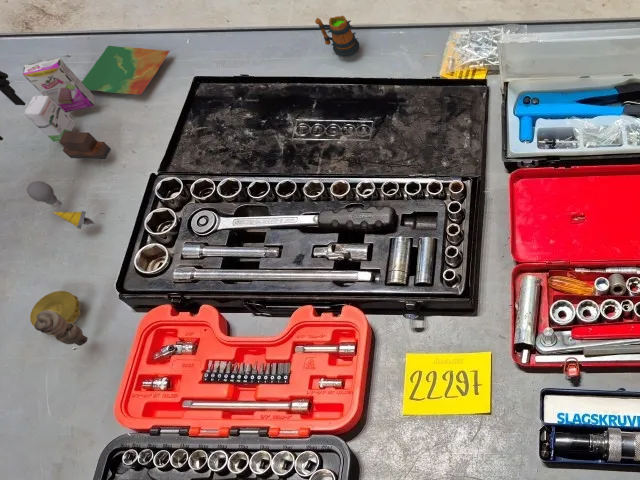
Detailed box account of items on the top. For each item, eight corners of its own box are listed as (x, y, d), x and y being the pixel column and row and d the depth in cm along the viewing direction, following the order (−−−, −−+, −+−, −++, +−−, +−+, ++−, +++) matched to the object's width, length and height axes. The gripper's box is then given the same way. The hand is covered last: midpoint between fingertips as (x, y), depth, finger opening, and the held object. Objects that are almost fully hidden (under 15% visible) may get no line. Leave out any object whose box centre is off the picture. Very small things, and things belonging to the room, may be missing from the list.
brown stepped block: (70, 158, 174) (52, 141, 167) (76, 147, 176) (58, 131, 169) (105, 159, 174) (88, 143, 167) (111, 149, 176) (94, 132, 169)
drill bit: (91, 234, 161) (49, 223, 155) (93, 227, 165) (52, 216, 159) (96, 219, 160) (53, 207, 154) (98, 212, 164) (56, 201, 157)
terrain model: (170, 52, 196) (169, 50, 195) (142, 96, 186) (140, 94, 186) (108, 45, 198) (107, 44, 198) (76, 88, 188) (75, 87, 188)
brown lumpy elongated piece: (81, 331, 147) (36, 307, 133) (99, 332, 146) (56, 309, 133) (71, 350, 144) (24, 327, 131) (90, 351, 144) (45, 329, 130)
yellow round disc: (34, 306, 151) (27, 302, 149) (77, 287, 153) (72, 284, 151) (39, 340, 146) (33, 337, 144) (84, 320, 148) (78, 317, 146)
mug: (362, 38, 197) (353, 8, 187) (358, 57, 193) (348, 28, 182) (327, 38, 197) (316, 9, 187) (322, 57, 193) (311, 28, 183)
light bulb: (44, 209, 165) (16, 188, 156) (59, 195, 168) (32, 174, 159) (58, 216, 164) (31, 195, 155) (73, 201, 166) (47, 181, 157)
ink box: (67, 141, 178) (38, 114, 167) (52, 141, 178) (22, 114, 167) (76, 122, 181) (48, 94, 171) (61, 122, 181) (32, 94, 171)
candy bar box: (61, 114, 183) (21, 75, 168) (62, 104, 185) (22, 64, 170) (95, 107, 184) (58, 67, 170) (96, 97, 186) (59, 56, 172)
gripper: (-75, 93, 129) (1, 155, 148) (-23, 25, 140) (41, 91, 159) (-105, 92, 129) (-25, 153, 148) (-50, 24, 140) (17, 90, 159)
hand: (9, 121), depth 154 cm, fingers open, 13 cm apart
